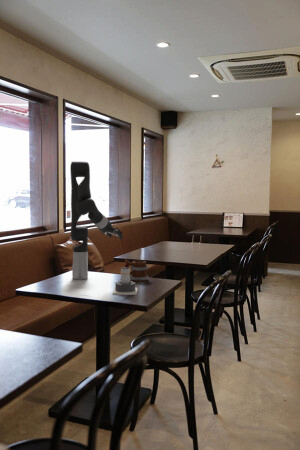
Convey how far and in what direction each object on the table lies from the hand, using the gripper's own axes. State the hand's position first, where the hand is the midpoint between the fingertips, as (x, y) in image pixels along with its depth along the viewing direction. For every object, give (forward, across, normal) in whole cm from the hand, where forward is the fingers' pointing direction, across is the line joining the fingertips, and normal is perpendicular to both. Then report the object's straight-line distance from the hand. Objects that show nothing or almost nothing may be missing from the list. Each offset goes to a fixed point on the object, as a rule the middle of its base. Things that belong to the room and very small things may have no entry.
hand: (116, 237), depth 249 cm
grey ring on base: (+4, -20, +30) cm, 36 cm away
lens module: (+4, -20, +29) cm, 35 cm away
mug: (+28, -6, +15) cm, 32 cm away
